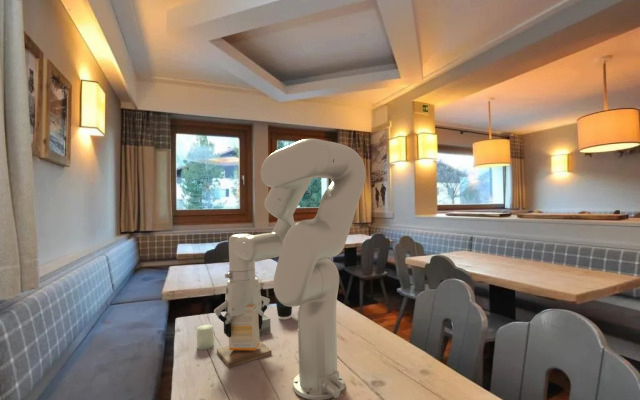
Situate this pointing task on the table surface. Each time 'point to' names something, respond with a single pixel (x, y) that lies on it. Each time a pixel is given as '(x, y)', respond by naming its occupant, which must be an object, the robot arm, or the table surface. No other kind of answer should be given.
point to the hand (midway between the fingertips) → (243, 331)
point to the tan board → (242, 355)
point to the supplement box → (245, 330)
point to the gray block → (265, 325)
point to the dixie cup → (283, 310)
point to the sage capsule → (205, 337)
